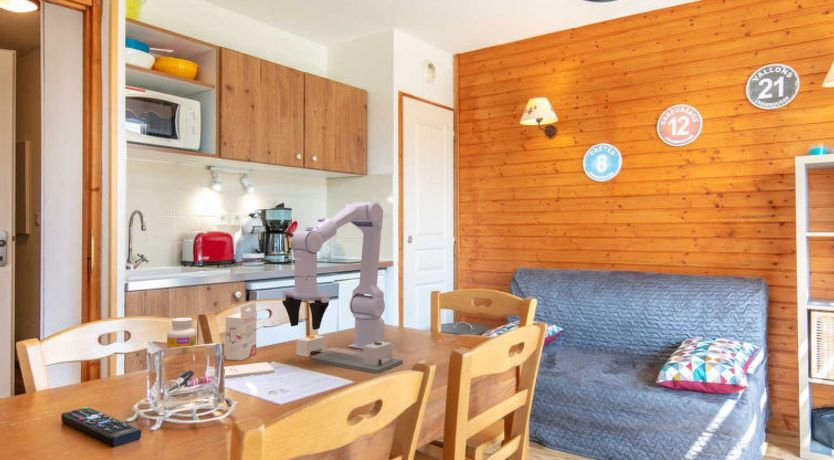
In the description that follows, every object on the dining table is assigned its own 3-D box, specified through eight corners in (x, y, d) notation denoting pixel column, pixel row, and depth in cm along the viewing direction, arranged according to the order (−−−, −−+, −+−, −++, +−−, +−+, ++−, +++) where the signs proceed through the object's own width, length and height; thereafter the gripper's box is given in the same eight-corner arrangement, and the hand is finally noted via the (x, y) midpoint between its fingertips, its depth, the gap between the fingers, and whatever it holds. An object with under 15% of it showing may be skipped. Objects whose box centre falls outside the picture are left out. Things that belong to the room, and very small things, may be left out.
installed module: (379, 358, 147) (379, 338, 147) (391, 360, 145) (392, 340, 145) (362, 364, 141) (363, 343, 140) (375, 366, 138) (375, 345, 138)
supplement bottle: (173, 375, 131) (174, 322, 131) (161, 370, 135) (162, 318, 135) (200, 370, 136) (201, 319, 136) (188, 365, 140) (189, 315, 140)
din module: (314, 349, 160) (314, 332, 160) (324, 351, 158) (325, 334, 158) (296, 354, 154) (296, 337, 154) (307, 356, 152) (307, 339, 152)
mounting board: (338, 352, 157) (338, 349, 157) (402, 363, 146) (402, 359, 146) (310, 361, 147) (310, 357, 147) (376, 373, 136) (376, 369, 136)
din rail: (333, 352, 153) (333, 347, 153) (389, 362, 143) (389, 356, 143) (324, 355, 150) (324, 349, 150) (381, 365, 140) (381, 359, 140)
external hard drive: (274, 375, 135) (221, 381, 129) (267, 367, 142) (216, 372, 136) (274, 369, 135) (221, 374, 129) (267, 361, 142) (216, 366, 136)
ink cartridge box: (240, 352, 155) (241, 301, 155) (256, 353, 154) (257, 301, 154) (224, 359, 147) (225, 305, 147) (241, 361, 146) (241, 306, 146)
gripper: (274, 275, 144) (274, 326, 144) (316, 279, 136) (316, 333, 137) (293, 273, 150) (292, 322, 150) (334, 276, 143) (334, 328, 143)
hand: (305, 327), depth 144 cm, fingers open, 7 cm apart
